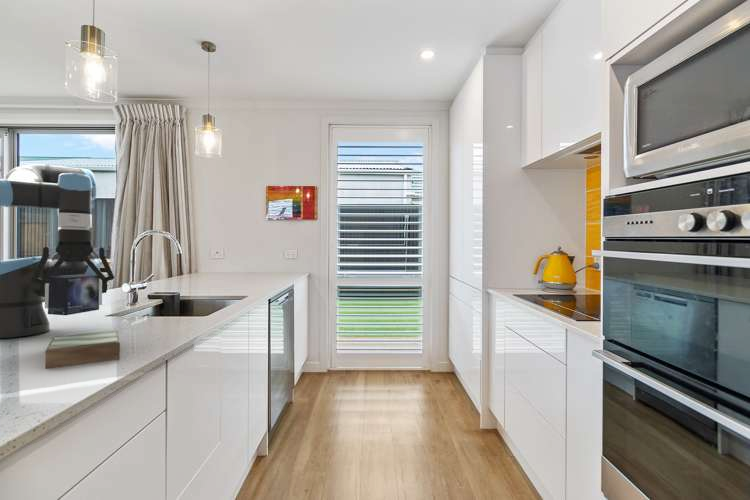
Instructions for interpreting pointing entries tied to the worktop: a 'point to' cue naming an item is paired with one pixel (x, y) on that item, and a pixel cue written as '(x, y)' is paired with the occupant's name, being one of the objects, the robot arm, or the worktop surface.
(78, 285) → the small box
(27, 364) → the worktop surface
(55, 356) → the base block
